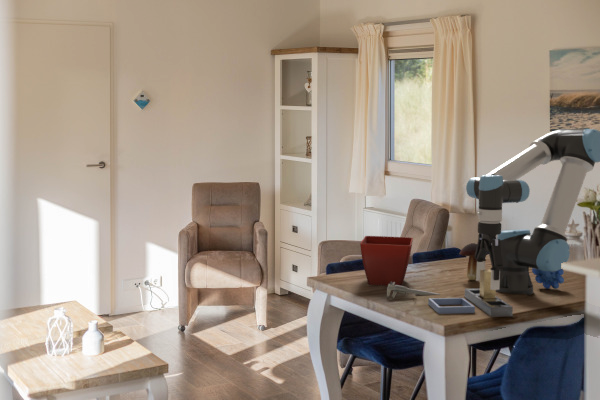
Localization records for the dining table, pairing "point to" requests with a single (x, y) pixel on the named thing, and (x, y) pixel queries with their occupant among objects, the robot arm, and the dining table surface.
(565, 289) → the dining table surface
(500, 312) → the socket rail
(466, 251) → the decorative mushroom
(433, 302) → the tray
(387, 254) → the plant pot
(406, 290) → the caliper
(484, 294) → the brass peg
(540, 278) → the grapes
